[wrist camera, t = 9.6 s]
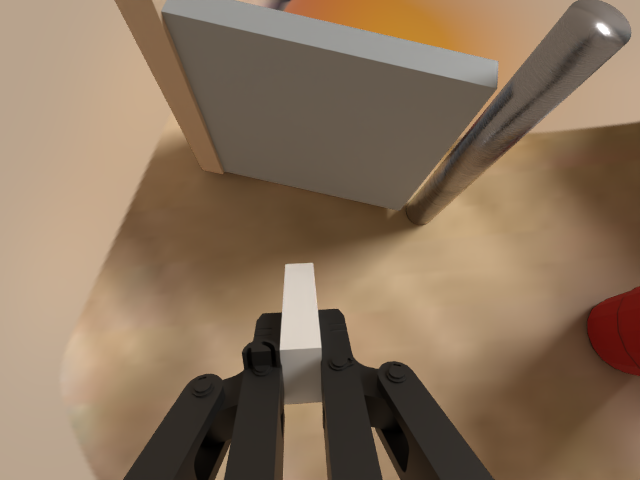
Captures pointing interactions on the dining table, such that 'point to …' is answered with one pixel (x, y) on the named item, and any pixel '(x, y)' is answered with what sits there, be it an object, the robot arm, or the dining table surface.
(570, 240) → the dining table surface
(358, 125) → the panel
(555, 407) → the dining table surface
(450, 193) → the gate post
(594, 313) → the plastic cup
